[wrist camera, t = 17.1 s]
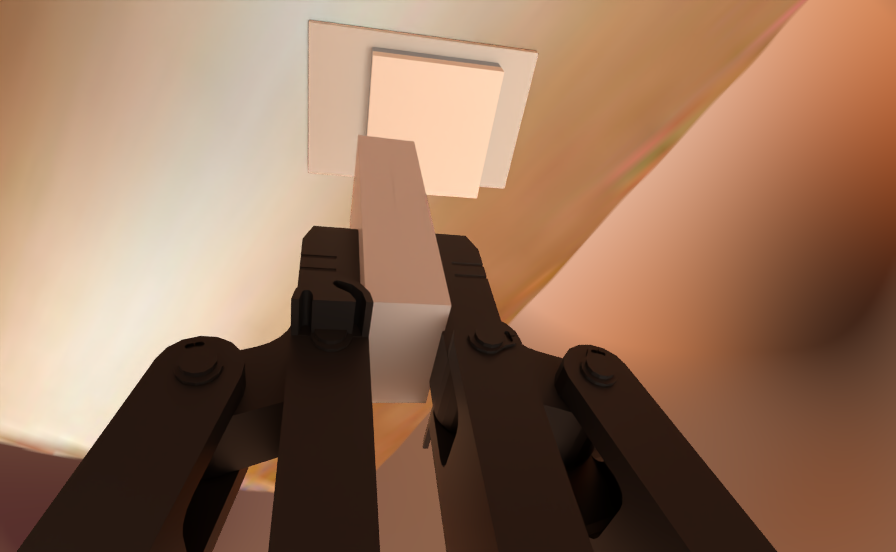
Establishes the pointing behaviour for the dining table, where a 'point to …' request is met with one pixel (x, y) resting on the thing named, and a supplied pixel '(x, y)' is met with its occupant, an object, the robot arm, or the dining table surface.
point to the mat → (348, 80)
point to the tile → (436, 113)
